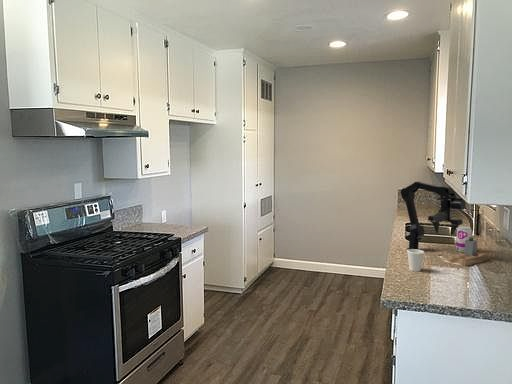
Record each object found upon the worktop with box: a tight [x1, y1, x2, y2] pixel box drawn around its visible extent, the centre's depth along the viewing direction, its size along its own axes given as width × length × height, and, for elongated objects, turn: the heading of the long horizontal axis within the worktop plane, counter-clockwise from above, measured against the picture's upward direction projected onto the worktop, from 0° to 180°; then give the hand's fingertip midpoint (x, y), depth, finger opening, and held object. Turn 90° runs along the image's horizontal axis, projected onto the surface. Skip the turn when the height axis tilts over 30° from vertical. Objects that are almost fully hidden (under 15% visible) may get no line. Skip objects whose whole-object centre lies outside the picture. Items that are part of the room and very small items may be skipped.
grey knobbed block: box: [464, 236, 478, 256], centre depth 243 cm, size 4×4×12 cm
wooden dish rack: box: [440, 252, 489, 267], centre depth 240 cm, size 14×24×5 cm, turn 125°
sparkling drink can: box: [455, 225, 473, 253], centre depth 264 cm, size 8×8×15 cm
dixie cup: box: [406, 249, 425, 272], centre depth 223 cm, size 8×8×10 cm
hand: (444, 234), depth 251 cm, fingers open, 9 cm apart
